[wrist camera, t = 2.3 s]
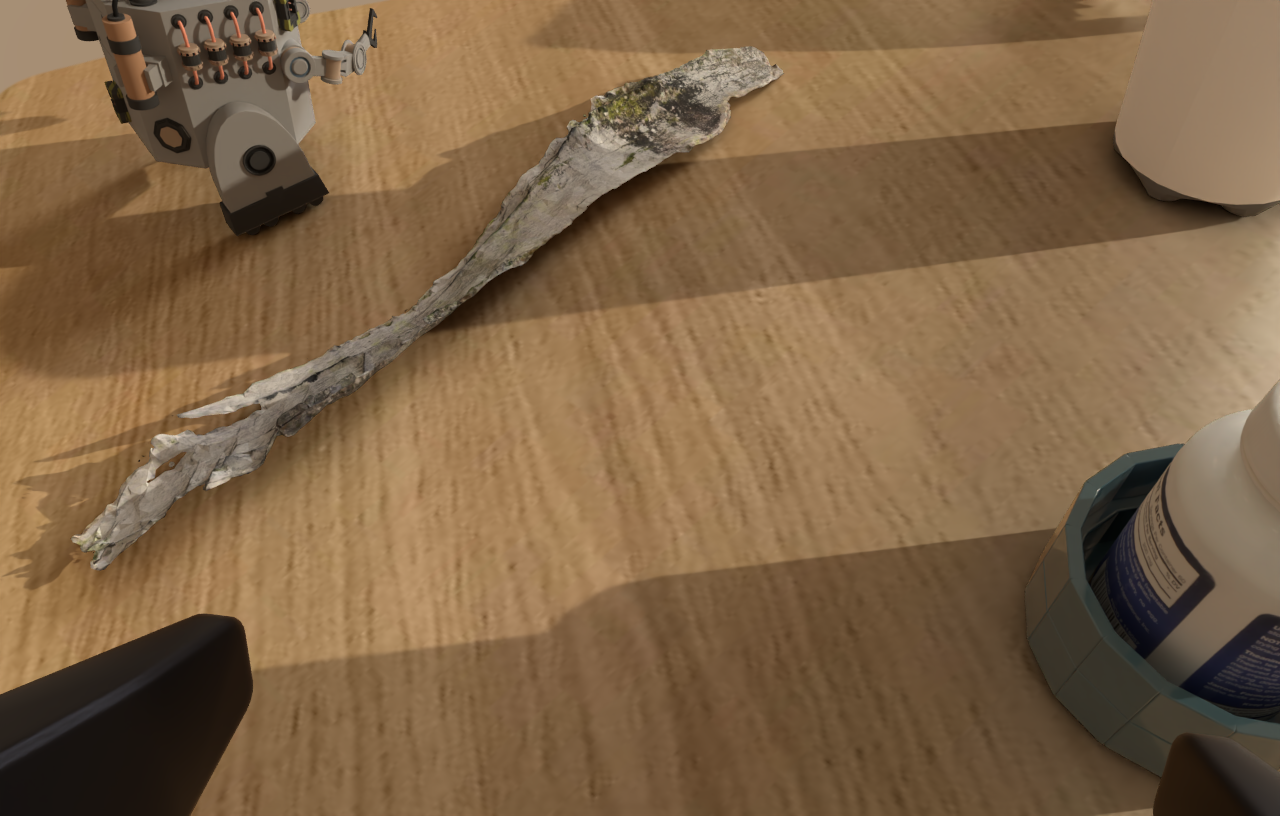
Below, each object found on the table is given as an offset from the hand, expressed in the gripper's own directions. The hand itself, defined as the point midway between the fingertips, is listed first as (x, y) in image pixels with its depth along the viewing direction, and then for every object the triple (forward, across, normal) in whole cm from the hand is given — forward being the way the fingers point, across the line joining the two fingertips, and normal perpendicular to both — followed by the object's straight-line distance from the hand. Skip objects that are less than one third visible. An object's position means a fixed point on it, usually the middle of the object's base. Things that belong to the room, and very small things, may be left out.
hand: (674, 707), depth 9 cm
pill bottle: (+16, -12, +9) cm, 22 cm away
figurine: (+33, +22, -1) cm, 40 cm away
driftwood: (+28, +10, +2) cm, 30 cm away
